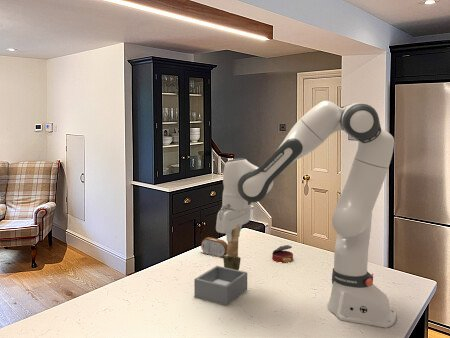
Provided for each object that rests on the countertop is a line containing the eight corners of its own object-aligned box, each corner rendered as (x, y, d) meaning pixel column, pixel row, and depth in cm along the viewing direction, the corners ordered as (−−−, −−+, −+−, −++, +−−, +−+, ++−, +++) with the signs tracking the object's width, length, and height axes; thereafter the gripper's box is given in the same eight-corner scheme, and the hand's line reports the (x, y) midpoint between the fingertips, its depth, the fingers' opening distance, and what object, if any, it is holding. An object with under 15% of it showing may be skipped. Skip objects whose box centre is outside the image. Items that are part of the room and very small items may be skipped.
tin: (229, 257, 190) (229, 240, 189) (225, 259, 187) (225, 242, 186) (203, 251, 197) (203, 235, 196) (200, 253, 195) (200, 237, 194)
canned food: (275, 271, 184) (265, 253, 183) (278, 262, 193) (269, 244, 193) (296, 263, 180) (286, 244, 179) (299, 254, 189) (289, 236, 189)
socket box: (247, 289, 153) (247, 272, 152) (226, 305, 139) (226, 287, 138) (216, 282, 160) (216, 265, 159) (194, 296, 146) (194, 279, 145)
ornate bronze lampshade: (233, 280, 162) (233, 262, 161) (219, 276, 166) (219, 258, 165) (243, 275, 167) (244, 257, 167) (230, 271, 172) (230, 253, 171)
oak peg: (239, 254, 146) (241, 223, 144) (234, 257, 142) (235, 225, 141) (230, 252, 148) (231, 221, 146) (225, 255, 144) (226, 223, 143)
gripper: (228, 209, 132) (226, 248, 134) (254, 198, 149) (252, 233, 151) (212, 206, 135) (211, 244, 137) (239, 196, 152) (238, 231, 154)
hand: (233, 239), depth 144 cm, fingers closed on oak peg, 4 cm apart
